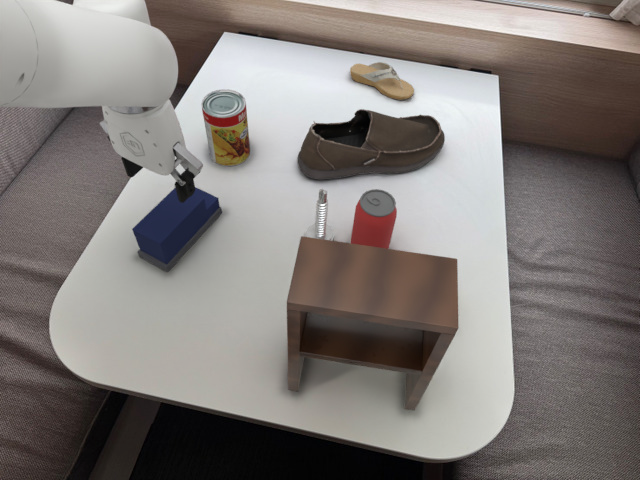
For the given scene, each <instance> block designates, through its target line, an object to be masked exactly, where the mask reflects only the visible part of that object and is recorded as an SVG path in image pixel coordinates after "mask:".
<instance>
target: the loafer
mask: <svg viewBox="0 0 640 480" xmlns="http://www.w3.org/2000/svg"><path fill="white" fill-rule="evenodd" d="M445 138H446V136H445V133H444V131H443V129H442V127H441V123H440V122H439V121H438V120H437V119H436V118H435V117H434V116H432V115H425V114H418V115H410V116H409V115H408V116H400V117H395V116H391V115H387V114H384V113H381V112H377V111H373V110H371V109H364V108H361V109H357V110H356V111H355V112H354V116H353V117H352V118H351V119H350V120H347V121H341V122H329V123H328V122H327V123H326V122H316V121H315V120H313V123H312V124H311V125H310V127H309V128H308V132H307V134H306V136H305V137H304V139H303V141H302V144H301V146H300V151H299V152H298V155H297V165H298V168H299V169H300V171H301V173H303V174H304V175H305V176H307V178H310V179H312V180H313V179H314V180H320V181H321V180H332V179H333V180H334V179H340V178H347V177H352V176H357V175H364V174H373V173H374V174H377V173H378V174H402V173H408V172H412V171H414V170H417V169H420V168H421V167H423V166H425V165H426V164H428V163H430V162H431V160H433V159H434V158H436V156H438V154H439V153H440V152H441V151H442V149H443V148H444V144H445V140H446V139H445Z"/></svg>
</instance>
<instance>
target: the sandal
mask: <svg viewBox="0 0 640 480" xmlns="http://www.w3.org/2000/svg"><path fill="white" fill-rule="evenodd" d="M349 73H350V77H351V78H352V80H353V81H354V82H357V83H360V84H364V85H368V86H370V87H371V86H372V87H373V88H376V89H377V91H378V92H380V93H381V94H382V95H384V96H386V97H387V98H390V99H394V100H397V101H398V100H399V101H400V100H401V101H402V100H407V99H410V98H411V97H412V96H413V95H414V92H415V88H414V87H413V85H412V84H411V83H409V82H408V81H406V80H404V79H402V78H401V77H400V76H399V73H398V72H397V70H396V69H394V67H393V66H392V65H390V64H388V62H383V61H377V62H374V63H371V64H368V65H366V64H364V63H355V64H353V65H352V66H351V67H350V70H349Z"/></svg>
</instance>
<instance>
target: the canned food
mask: <svg viewBox="0 0 640 480" xmlns="http://www.w3.org/2000/svg"><path fill="white" fill-rule="evenodd" d="M200 106H201V110H202V117H203V123H204V128H205V134H206V140H207V141H206V142H207V147H208V153H209V158H210V159H211V160H212V162H214V163H215V164H217V165H219V166H221V167H222V166H223V167H235V166H239V165H241V164H243V163H244V162H246V161H247V160H248V158H249V157H250V155H251V154H250V153H251V147H250V135H249V123H248V121H249V120H248V113H247V111H248V109H247V101H246V98H245V97H244V95H243V94H242V93H240V92H238V91H236V90H233V89H225V88H223V89H222V88H221V89H216V90H212V91H210V92H209V93H207V94H206V95H204V97H203V98H202V100H201V104H200Z"/></svg>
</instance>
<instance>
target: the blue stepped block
mask: <svg viewBox="0 0 640 480" xmlns="http://www.w3.org/2000/svg"><path fill="white" fill-rule="evenodd" d="M222 214H223V208H222V207H221V206H220V201H219V197H217V196H215V195H213V194H211V193H209V192H206V191H204V190H203V189H200V188H199V187H196V186H195V192H194V194H193V195H192V196H191V197H189V198H188V199H187V200H186V201H185V202H184V203H181V202H179V200H178V196H177V192H176V189H175V187H174V188H173V189H172V190H171V191H170V192H169V193H168V194H166V196H164V197H163V199H161V200H160V201H159V202H158V204H156V205H155V206H154V207H153V208H152V209H151V210H150V211H149V212H148V213H147V214H146V215H145V216H144V217H143V218H142V219H141V220H140V221H138V223H137V224H136V225H135V226H133V228H131V230H132V233H133V235H134V238H135V241H136V243H137V245H138V248H139V249H138V250H137V252H136V253H137V254H138V257H139V258H141V259H142V260H145V261H146V262H148V263H150V264H152V265H153V266H155V267H157V268H159V269H161V270H163V271H164V272H166V273H169V272H170V271H171V269H172V268H173V267H174V266H175V265H176V264H177V263H178V262H179V261H180V260H181V259H182V257H183V256H184V255H185V254H186V253H187V252H188V251H189V250H190V249H191V247H192V246H193V245H194V244H195V243H196V242H197V241H198V240H199V239H200V238H201V237H202V235H203V234H204V233H205V232H206V231H207V230H208V229H210V227H211V226H212V225H213V224H214V223H215V221H216V220H217V219H218V218H219V217H220V216H221V215H222Z"/></svg>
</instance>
